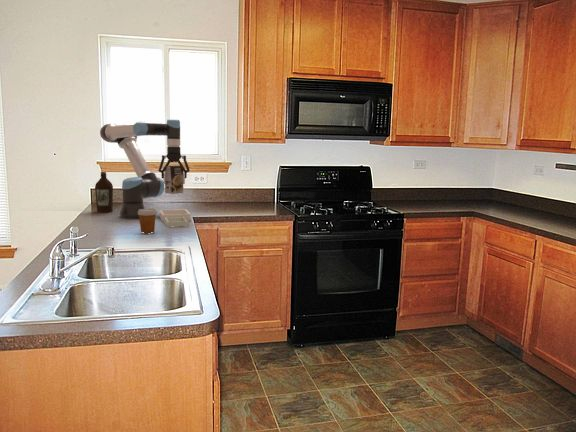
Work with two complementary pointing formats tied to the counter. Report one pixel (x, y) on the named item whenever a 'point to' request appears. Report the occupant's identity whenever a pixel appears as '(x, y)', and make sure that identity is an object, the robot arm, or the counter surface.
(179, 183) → the coffee box
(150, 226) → the glass of beer
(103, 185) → the olive oil
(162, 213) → the plastic food container
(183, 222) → the tray
